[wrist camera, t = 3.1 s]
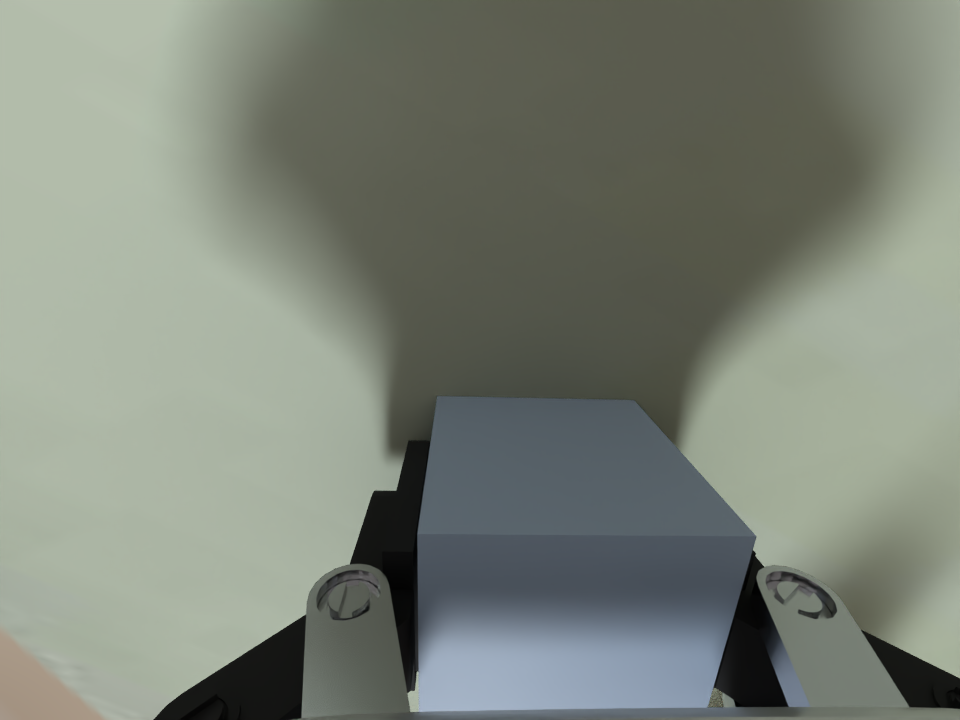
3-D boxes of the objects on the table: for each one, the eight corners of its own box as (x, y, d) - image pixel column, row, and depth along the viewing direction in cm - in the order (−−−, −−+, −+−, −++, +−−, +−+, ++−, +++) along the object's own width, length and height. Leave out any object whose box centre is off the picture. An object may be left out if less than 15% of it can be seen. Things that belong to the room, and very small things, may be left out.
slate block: (633, 400, 11) (756, 536, 7) (608, 558, 13) (692, 759, 8) (437, 396, 11) (417, 534, 6) (436, 557, 13) (419, 764, 8)
